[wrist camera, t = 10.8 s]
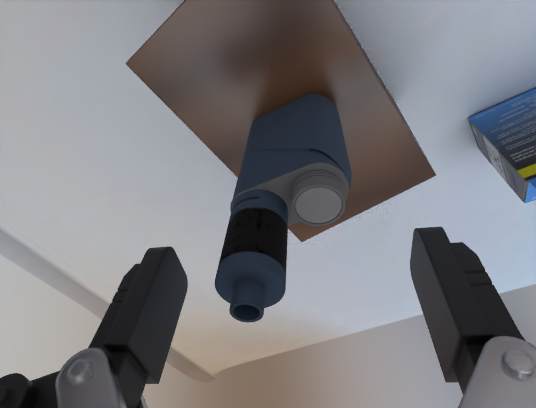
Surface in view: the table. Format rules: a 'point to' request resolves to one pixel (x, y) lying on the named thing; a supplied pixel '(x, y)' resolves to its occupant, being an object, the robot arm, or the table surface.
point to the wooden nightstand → (280, 87)
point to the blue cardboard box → (510, 141)
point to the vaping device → (281, 199)
